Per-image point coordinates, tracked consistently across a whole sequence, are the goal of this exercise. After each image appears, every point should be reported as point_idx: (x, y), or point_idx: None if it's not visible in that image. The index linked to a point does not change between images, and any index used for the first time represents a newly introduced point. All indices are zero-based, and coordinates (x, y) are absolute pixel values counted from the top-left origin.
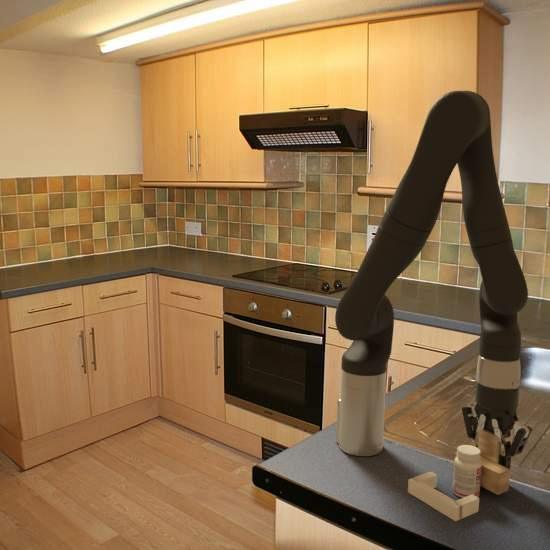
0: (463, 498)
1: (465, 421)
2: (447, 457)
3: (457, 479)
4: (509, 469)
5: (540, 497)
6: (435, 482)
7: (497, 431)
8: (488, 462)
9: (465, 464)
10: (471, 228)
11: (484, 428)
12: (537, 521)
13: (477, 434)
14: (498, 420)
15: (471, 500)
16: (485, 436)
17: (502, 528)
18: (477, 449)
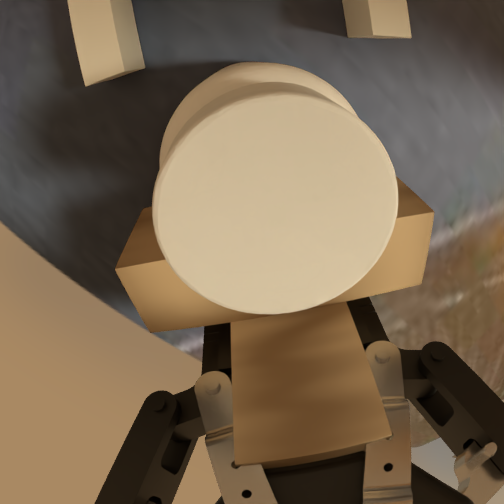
0: (106, 8)
1: (492, 401)
2: (459, 241)
3: (250, 62)
4: (149, 329)
5: None
6: (356, 30)
7: (254, 493)
8: None
9: (204, 98)
10: None
11: (363, 458)
12: (37, 235)
13: (398, 391)
14: None
15: (79, 38)
16: (329, 420)
17: (14, 109)
18: (243, 297)
